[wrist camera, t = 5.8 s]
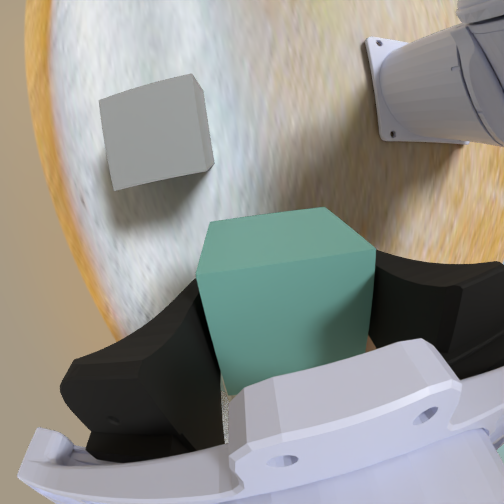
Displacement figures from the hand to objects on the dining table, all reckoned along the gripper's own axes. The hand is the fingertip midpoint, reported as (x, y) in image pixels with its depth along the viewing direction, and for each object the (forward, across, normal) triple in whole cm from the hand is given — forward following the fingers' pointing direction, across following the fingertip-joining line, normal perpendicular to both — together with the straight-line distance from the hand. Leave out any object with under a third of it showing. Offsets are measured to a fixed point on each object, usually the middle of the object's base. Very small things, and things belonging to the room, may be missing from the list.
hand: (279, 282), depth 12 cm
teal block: (+2, 0, 0) cm, 2 cm away
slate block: (+8, +4, -7) cm, 12 cm away
